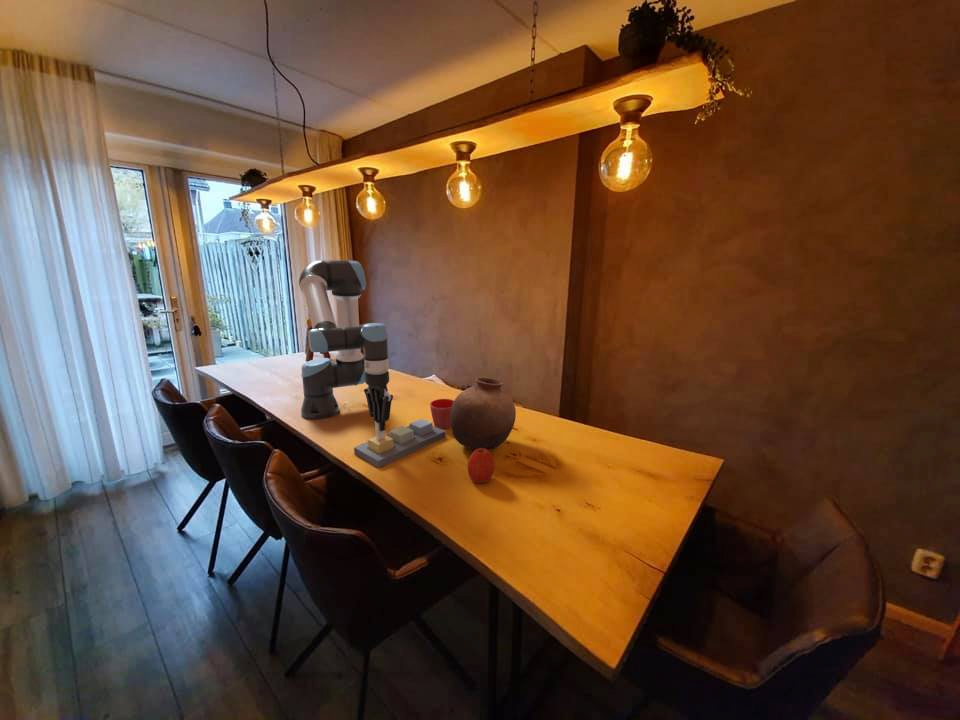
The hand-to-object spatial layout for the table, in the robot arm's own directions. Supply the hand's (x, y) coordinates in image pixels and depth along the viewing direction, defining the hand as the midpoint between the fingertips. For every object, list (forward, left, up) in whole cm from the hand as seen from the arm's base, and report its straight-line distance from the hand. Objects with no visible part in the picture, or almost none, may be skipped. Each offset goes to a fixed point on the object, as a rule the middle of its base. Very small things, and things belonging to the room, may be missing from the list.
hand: (380, 438), depth 129 cm
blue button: (0, +18, -4) cm, 18 cm away
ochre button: (0, 0, -4) cm, 4 cm away
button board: (0, +9, -6) cm, 11 cm away
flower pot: (-1, +31, -6) cm, 32 cm away
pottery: (+22, +28, -6) cm, 36 cm away
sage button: (0, +9, -4) cm, 10 cm away
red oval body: (+36, +10, -6) cm, 38 cm away
